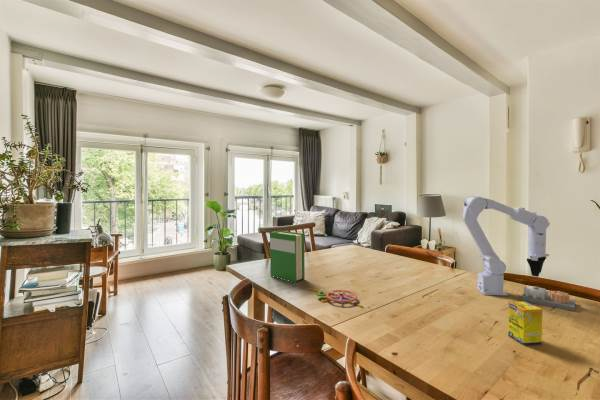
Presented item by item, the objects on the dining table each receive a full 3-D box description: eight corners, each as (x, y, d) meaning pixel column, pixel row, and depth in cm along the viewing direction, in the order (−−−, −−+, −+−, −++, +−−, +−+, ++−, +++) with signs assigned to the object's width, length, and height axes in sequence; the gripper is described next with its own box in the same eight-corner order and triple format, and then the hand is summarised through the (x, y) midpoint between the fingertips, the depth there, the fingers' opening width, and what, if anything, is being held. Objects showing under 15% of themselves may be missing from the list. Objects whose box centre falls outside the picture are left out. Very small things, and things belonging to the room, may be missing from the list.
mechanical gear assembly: (352, 313, 111) (373, 304, 121) (352, 303, 110) (373, 294, 121) (297, 294, 132) (319, 287, 142) (297, 284, 132) (319, 278, 142)
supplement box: (507, 335, 93) (508, 301, 92) (525, 334, 93) (525, 301, 93) (523, 345, 87) (524, 309, 86) (542, 344, 87) (543, 308, 87)
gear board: (521, 300, 122) (522, 287, 121) (525, 293, 129) (525, 282, 128) (574, 311, 110) (574, 297, 110) (575, 303, 117) (575, 290, 117)
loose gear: (556, 302, 115) (556, 295, 115) (546, 297, 120) (546, 290, 120) (573, 303, 114) (573, 296, 114) (562, 298, 119) (562, 291, 119)
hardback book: (304, 279, 152) (304, 233, 151) (295, 283, 146) (294, 235, 145) (280, 273, 163) (279, 230, 162) (270, 276, 157) (269, 232, 156)
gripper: (547, 246, 118) (546, 280, 118) (551, 241, 128) (550, 272, 129) (525, 244, 123) (524, 276, 123) (530, 239, 133) (529, 269, 133)
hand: (536, 274), depth 126 cm, fingers open, 7 cm apart
